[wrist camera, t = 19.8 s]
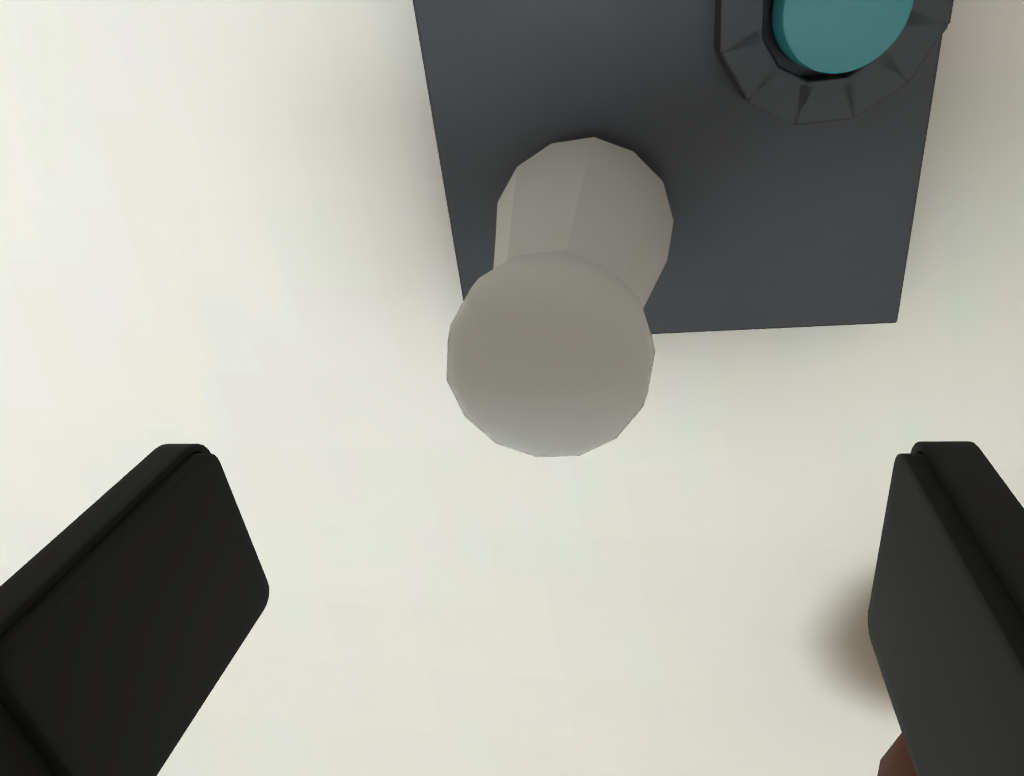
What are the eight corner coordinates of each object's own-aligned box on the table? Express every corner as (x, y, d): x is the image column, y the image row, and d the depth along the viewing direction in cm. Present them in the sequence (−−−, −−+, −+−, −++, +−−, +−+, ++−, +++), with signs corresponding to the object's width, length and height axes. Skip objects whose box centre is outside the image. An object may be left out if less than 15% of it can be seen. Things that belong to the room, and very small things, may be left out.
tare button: (901, -71, 18) (925, -78, 16) (884, 61, 19) (905, 65, 18) (774, -52, 19) (786, -57, 17) (768, 75, 20) (778, 80, 19)
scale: (946, -150, 19) (1003, -179, 16) (881, 303, 26) (913, 342, 23) (418, -59, 23) (384, -69, 20) (479, 324, 29) (461, 361, 26)
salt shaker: (666, 115, 22) (696, 223, 11) (673, 279, 25) (704, 501, 14) (494, 139, 23) (365, 259, 12) (519, 293, 26) (431, 507, 15)
